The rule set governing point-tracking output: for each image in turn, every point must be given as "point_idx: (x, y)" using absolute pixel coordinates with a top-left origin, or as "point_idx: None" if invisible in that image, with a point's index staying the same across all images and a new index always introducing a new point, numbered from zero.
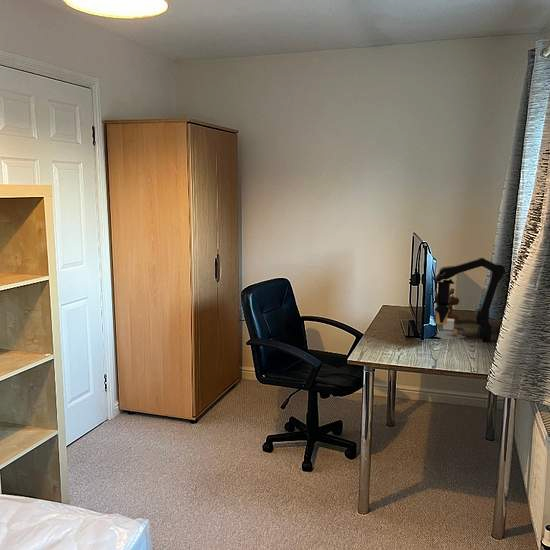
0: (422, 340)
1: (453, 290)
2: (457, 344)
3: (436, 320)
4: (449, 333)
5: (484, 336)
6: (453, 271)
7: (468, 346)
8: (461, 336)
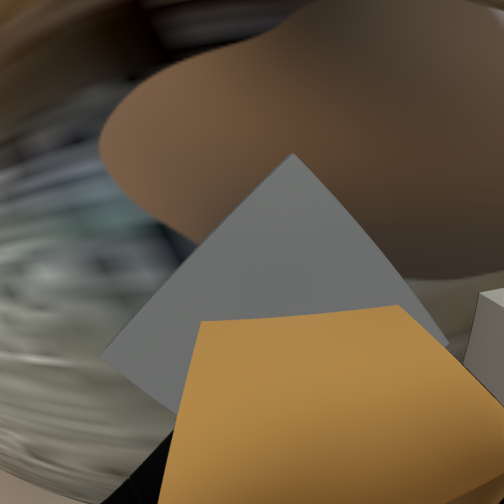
0: (48, 162)
1: None
2: (97, 419)
3: (194, 367)
4: None
5: None
6: None
7: (100, 460)
8: None
